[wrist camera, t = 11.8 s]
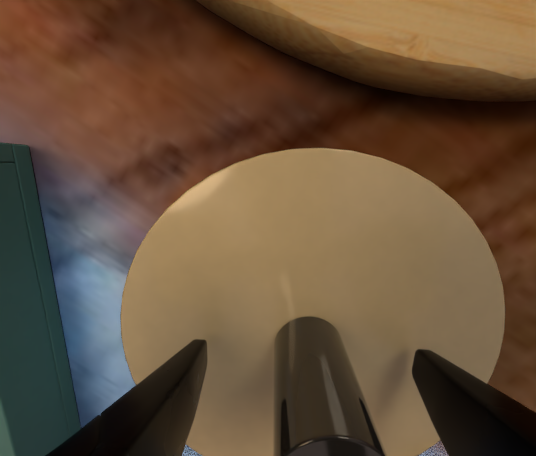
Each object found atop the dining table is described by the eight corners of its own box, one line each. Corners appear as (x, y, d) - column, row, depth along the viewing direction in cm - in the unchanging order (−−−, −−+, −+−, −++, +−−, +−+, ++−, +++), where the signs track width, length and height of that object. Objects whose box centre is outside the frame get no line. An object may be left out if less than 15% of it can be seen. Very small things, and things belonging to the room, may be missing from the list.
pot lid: (441, 461, 11) (574, 693, 6) (151, 445, 12) (57, 655, 7) (518, 156, 8) (894, 136, 3) (120, 144, 9) (-100, 111, 4)
